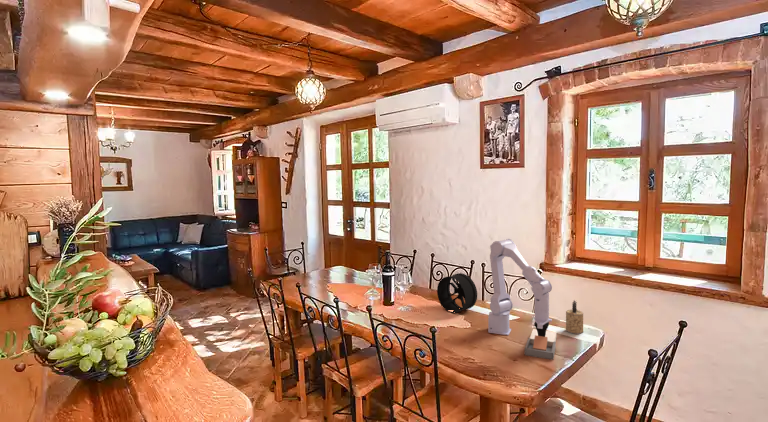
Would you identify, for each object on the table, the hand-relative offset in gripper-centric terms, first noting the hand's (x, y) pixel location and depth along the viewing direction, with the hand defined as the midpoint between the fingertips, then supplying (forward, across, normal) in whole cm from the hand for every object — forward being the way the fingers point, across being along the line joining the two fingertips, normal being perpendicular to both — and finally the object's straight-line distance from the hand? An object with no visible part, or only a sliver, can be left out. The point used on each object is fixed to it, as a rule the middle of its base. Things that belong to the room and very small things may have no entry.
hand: (541, 339), depth 176 cm
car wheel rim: (+3, +32, +47) cm, 57 cm away
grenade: (+3, +23, -12) cm, 27 cm away
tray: (+3, -6, 0) cm, 6 cm away
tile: (+1, -4, 0) cm, 4 cm away
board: (+3, +6, 0) cm, 7 cm away
